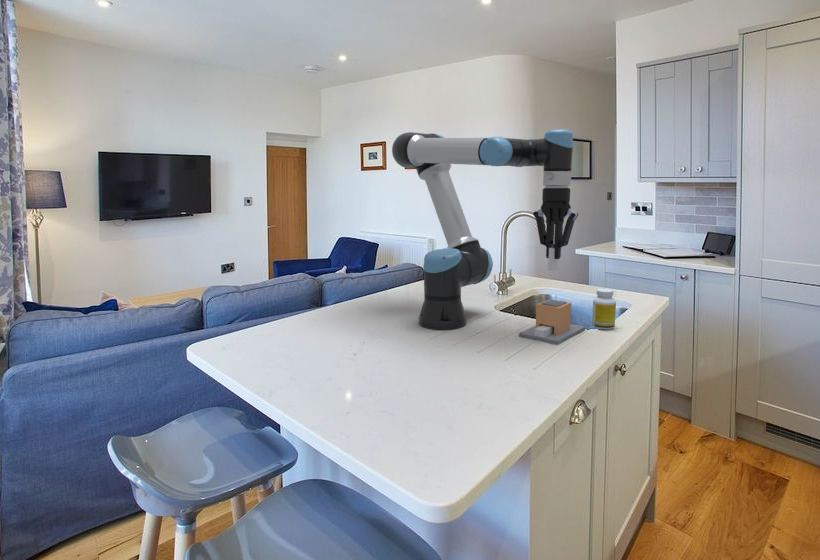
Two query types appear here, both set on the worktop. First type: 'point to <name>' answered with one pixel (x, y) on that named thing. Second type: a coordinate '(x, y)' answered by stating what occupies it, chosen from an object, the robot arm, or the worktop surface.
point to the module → (554, 315)
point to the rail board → (551, 333)
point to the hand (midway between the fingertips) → (552, 269)
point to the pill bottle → (604, 310)
